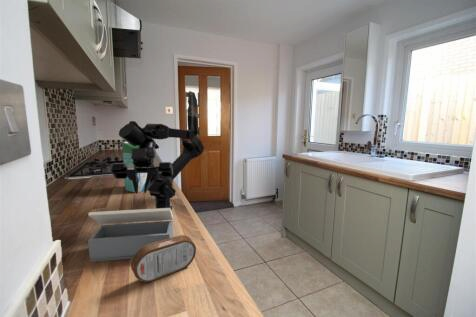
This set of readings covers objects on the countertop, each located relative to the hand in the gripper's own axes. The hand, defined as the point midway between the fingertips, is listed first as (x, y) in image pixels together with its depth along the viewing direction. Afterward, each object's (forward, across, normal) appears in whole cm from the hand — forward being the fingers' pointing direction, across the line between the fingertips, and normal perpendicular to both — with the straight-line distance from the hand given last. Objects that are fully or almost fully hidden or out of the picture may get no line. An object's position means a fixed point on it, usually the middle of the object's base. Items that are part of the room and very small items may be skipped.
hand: (140, 193), depth 73 cm
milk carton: (-26, -13, +45) cm, 53 cm away
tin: (+25, +10, -6) cm, 28 cm away
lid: (+9, 0, -3) cm, 10 cm away
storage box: (+16, 0, +3) cm, 17 cm away
